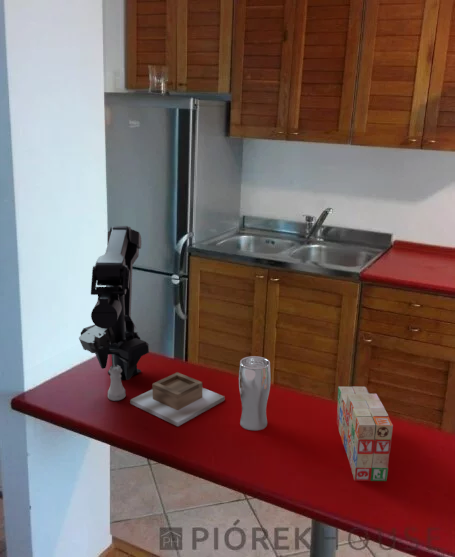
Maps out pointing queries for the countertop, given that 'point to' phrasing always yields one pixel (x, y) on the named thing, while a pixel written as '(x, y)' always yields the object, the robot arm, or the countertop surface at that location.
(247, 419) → the beer glass
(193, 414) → the board
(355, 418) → the stack of blocks
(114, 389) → the rook chess piece
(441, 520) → the countertop surface
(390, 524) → the countertop surface
